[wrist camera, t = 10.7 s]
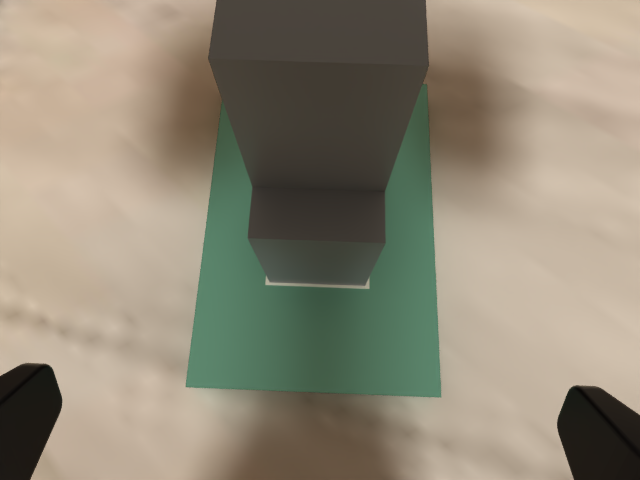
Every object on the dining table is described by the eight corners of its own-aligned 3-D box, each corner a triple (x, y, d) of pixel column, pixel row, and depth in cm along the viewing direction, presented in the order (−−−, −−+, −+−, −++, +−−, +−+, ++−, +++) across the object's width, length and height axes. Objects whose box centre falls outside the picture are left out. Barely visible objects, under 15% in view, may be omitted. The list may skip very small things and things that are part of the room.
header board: (434, 396, 20) (467, 400, 15) (193, 386, 20) (156, 388, 15) (421, 98, 25) (444, 35, 20) (229, 91, 25) (209, 27, 20)
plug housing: (364, 285, 20) (432, 145, 8) (269, 282, 20) (197, 137, 8) (365, 158, 22) (420, -104, 10) (279, 155, 22) (232, -110, 10)
